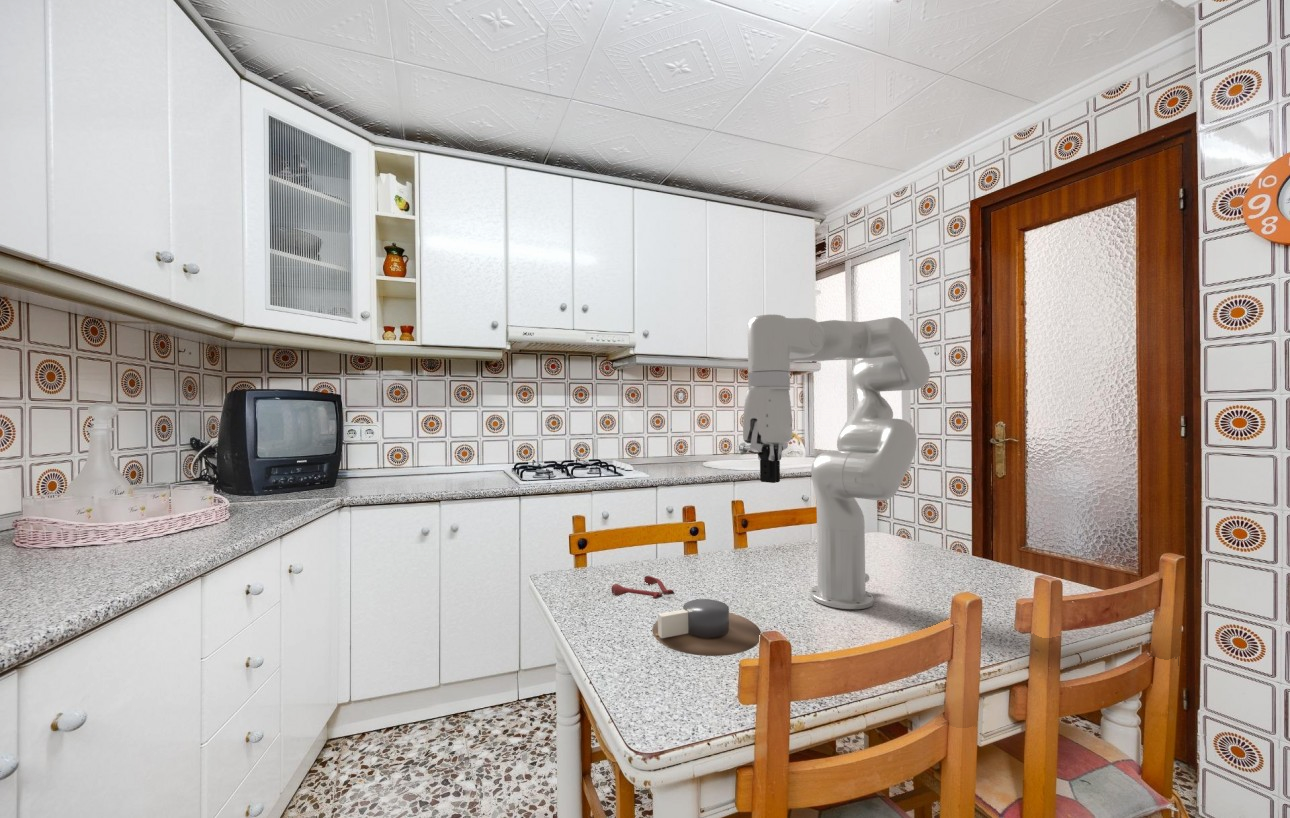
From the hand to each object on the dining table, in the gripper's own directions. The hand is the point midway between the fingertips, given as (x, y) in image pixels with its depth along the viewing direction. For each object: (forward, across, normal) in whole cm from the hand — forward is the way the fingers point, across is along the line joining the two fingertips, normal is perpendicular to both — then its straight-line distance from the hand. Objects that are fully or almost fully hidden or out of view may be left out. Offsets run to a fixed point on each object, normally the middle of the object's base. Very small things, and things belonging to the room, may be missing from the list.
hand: (770, 481), depth 92 cm
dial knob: (+25, +14, -7) cm, 30 cm away
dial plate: (+27, +12, -6) cm, 30 cm away
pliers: (+28, +5, -27) cm, 39 cm away
